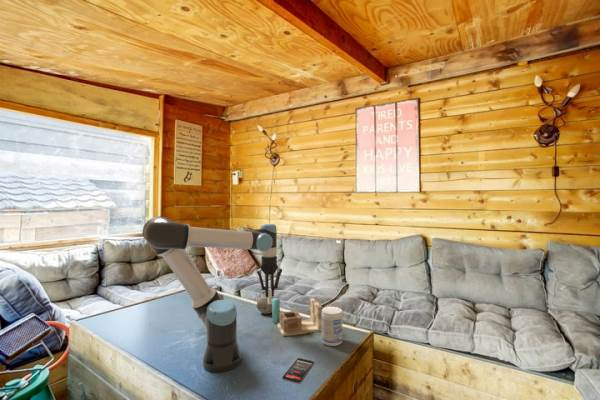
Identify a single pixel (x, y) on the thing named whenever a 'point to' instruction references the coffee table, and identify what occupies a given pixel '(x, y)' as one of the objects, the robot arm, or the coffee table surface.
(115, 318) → the coffee table surface
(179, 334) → the coffee table surface
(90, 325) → the coffee table surface
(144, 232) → the robot arm
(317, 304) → the jig
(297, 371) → the smartphone
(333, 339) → the supplement tub
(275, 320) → the dowel
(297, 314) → the block
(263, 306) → the decorative stone
